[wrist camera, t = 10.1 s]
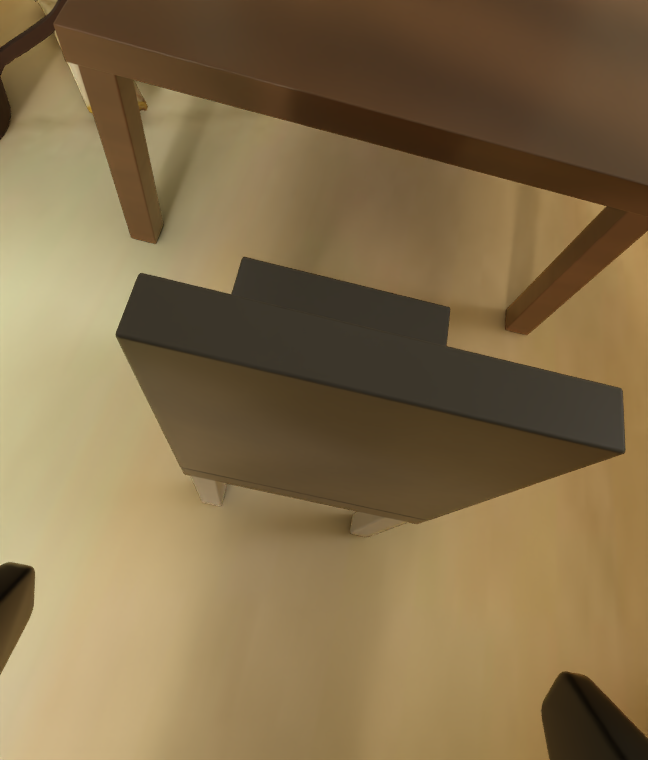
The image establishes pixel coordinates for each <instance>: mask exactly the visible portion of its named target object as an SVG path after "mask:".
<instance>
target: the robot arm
mask: <svg viewBox="0 0 648 760" xmlns="http://www.w3.org/2000/svg"><path fill="white" fill-rule="evenodd" d="M34 589H35V571H34V568H33V567H31V566H28V565H23V564H18V563H12V562H8V563H5V564H2V565H0V674H1V672H2V671H3V669H4V667H5V665H6V663H7V661H8V659H9V657H10V655H11V653H12V651H13V649H14V647H15V646H16V644H17V642H18V640H19V638H20V636H21V634H22V632H23V630H24V628H25V626H26V624H27V622H28V620H29V618H30V616H31V614H32V610H33V606H34ZM541 713H542V722H543V727H544V732H545V738H546V743H547V749H548V754H549V759H550V760H648V738H647V737H646V736H645V735H644V734H643V733H642V732H641V731H640V730H639V729H638V728H637V727H636V726H635V725H634V724H633V723H632V722H631V721H630V720H629V719H628V718H627V717H626V716H625V715H624V713H623V712H622V711H621V710H620V709H619V708H618V707H617V706H616V705H615V704H614V703H613V702H612V701H611V700H610V699H609V698H608V697H607V696H606V695H605V694H604V693H603V692H602V691H601V690H600V689H599V688H598V687H597V686H596V685H595V683H594V682H593V681H592V680H590V679H589V678H588V677H587V676H584V675H581V674H576V673H571V672H562V673H560V674H559V675H558V677H557V678H556V680H555V682H554V683H553V685H552V687H551V688H550V690H549V692H548V694H547V695H546V697H545V699H544V701H543V704H542V710H541Z"/></svg>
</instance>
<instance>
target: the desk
mask: <svg viewBox="0 0 648 760" xmlns="http://www.w3.org/2000/svg"><path fill="white" fill-rule="evenodd" d="M53 25H54V28H55V31H56V34H57V37H58V40H59V43H60V46H61V49H62V52H63V55H64V58H65V61H66V62H69V63H72V64H76V65H78V67H79V71H80V74H81V77H82V80H83V83H84V87H85V90H86V93H87V96H88V100H89V103H90V106H91V109H92V113H93V116H94V119H95V122H96V126H97V129H98V132H99V135H100V138H101V142H102V145H103V148H104V151H105V155H106V158H107V161H108V164H109V168H110V171H111V174H112V177H113V180H114V184H115V187H116V190H117V193H118V197H119V200H120V203H121V206H122V210H123V213H124V216H125V219H126V223H127V226H128V229H129V232H130V235H131V238H134V239H138V240H142V241H146V242H150V243H154V244H156V243H157V240H158V237H159V235H160V232H161V230H162V227H163V220H162V216H161V211H160V206H159V201H158V196H157V192H156V187H155V182H154V177H153V172H152V168H151V163H150V158H149V153H148V149H147V144H146V139H145V134H144V129H143V125H142V120H141V115H140V110H139V105H138V101H137V96H136V91H135V86H134V81H133V80H136V81H140V82H144V83H147V84H151V85H155V86H159V87H162V88H166V89H170V90H174V91H177V92H181V93H185V94H189V95H192V96H196V97H200V98H204V99H207V100H211V101H215V102H219V103H222V104H226V105H230V106H234V107H237V108H241V109H245V110H249V111H252V112H256V113H260V114H264V115H267V116H271V117H275V118H279V119H282V120H286V121H290V122H294V123H297V124H301V125H305V126H309V127H312V128H316V129H320V130H324V131H327V132H331V133H335V134H339V135H342V136H346V137H350V138H354V139H357V140H361V141H365V142H369V143H372V144H376V145H380V146H384V147H387V148H391V149H395V150H399V151H402V152H406V153H410V154H413V155H417V156H421V157H425V158H428V159H432V160H436V161H440V162H443V163H447V164H451V165H455V166H458V167H462V168H466V169H470V170H473V171H477V172H481V173H485V174H488V175H492V176H496V177H500V178H503V179H507V180H511V181H515V182H518V183H522V184H526V185H530V186H533V187H537V188H541V189H545V190H548V191H552V192H556V193H560V194H563V195H567V196H571V197H575V198H578V199H582V200H586V201H590V202H593V203H597V204H601V205H605V206H606V207H605V208H604V209H603V210H602V211H601V213H600V214H599V215H598V216H597V217H596V218H595V219H594V220H593V221H592V222H591V223H590V224H589V225H588V226H587V227H586V228H585V229H584V230H583V231H582V232H581V233H580V234H579V235H578V236H577V237H576V238H575V239H574V240H573V241H572V242H571V243H570V244H569V245H568V247H567V248H566V249H565V250H564V251H563V252H562V253H561V254H560V255H559V256H558V257H557V258H556V259H555V260H554V261H553V262H552V263H551V264H550V265H549V266H548V267H547V268H546V269H545V270H544V271H543V272H542V273H541V274H540V275H539V276H538V277H537V278H536V279H535V281H534V282H533V283H532V284H531V285H530V286H529V287H528V288H527V289H526V290H525V291H524V292H523V293H522V294H521V295H520V296H519V297H518V298H517V299H516V300H515V301H514V302H513V303H512V304H511V305H510V306H509V307H508V308H507V310H506V324H505V329H506V330H509V331H513V332H517V333H521V334H525V335H528V334H529V333H530V332H531V331H533V330H534V329H535V328H536V327H537V326H538V325H539V324H541V323H542V322H543V321H544V320H545V319H546V318H548V317H549V316H550V315H551V314H552V313H553V312H554V311H556V310H557V309H558V308H559V307H560V306H561V305H563V304H564V303H565V302H566V301H567V300H568V299H569V298H571V297H572V296H573V295H574V294H575V293H576V292H578V291H579V290H580V289H581V288H582V287H583V286H584V285H586V284H587V283H588V282H589V281H590V280H591V279H593V278H594V277H595V276H596V275H597V274H598V273H599V272H601V271H602V270H603V269H604V268H605V267H606V266H608V265H609V264H610V263H611V262H612V261H613V260H614V259H616V258H617V257H618V256H619V255H620V254H621V253H623V252H624V251H625V250H626V249H627V248H628V247H629V246H631V245H632V244H633V243H634V242H635V241H636V240H638V239H639V238H640V237H641V236H642V235H643V234H644V233H646V232H647V231H648V0H67V1H66V3H65V5H64V6H63V8H62V10H61V11H60V13H59V15H58V16H57V18H56V20H55V21H54V24H53Z"/></svg>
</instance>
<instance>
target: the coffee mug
mask: <svg viewBox="0 0 648 760" xmlns="http://www.w3.org/2000/svg"><path fill="white" fill-rule="evenodd" d="M66 1H67V0H58V1H57V2H56V4H55V6H54V7H53V9H52V10H51V12H50V13H49V14H47V15H46V16H45V17H44V18H42V19H41V20H40V21H38V22H37V23H35V24H34V25H33V26H31V27H30V28H29V29H27V30H26V31H24V32H23V33H21V34H20V35H18V36H17V37H15V38H13V39H12V40H10V41H9V42H8V43H6V44H5V45H4V46H2V47H1V48H0V75H1V73H2V71H3V68H4V67H5V65H7V64H9V63H10V62H11V61H13V60H14V59H15V58H17V57H19V56H21V55H22V54H23V53H25V52H27V51H28V50H30V49H31V48H33V47H34V46H36V45H37V44H38V43H40V42H41V41H43V40H44V39H45V38H47V37H48V36H50V35H51V34H52V33H53V32H54V31H55V28H54V25H53V24H54V21H55V20H56V18H57V16H58V15H59V13H60V11H61V10H62V8H63V6H64V5H65V3H66ZM10 118H11V111H10V105H9V102H8V98H7V95H6V92H5V89H4V86H3V83H2V80H1V77H0V139H1V138H2V137H3V136H4V134H5V132H6V130H7V128H8V126H9V123H10Z"/></svg>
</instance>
